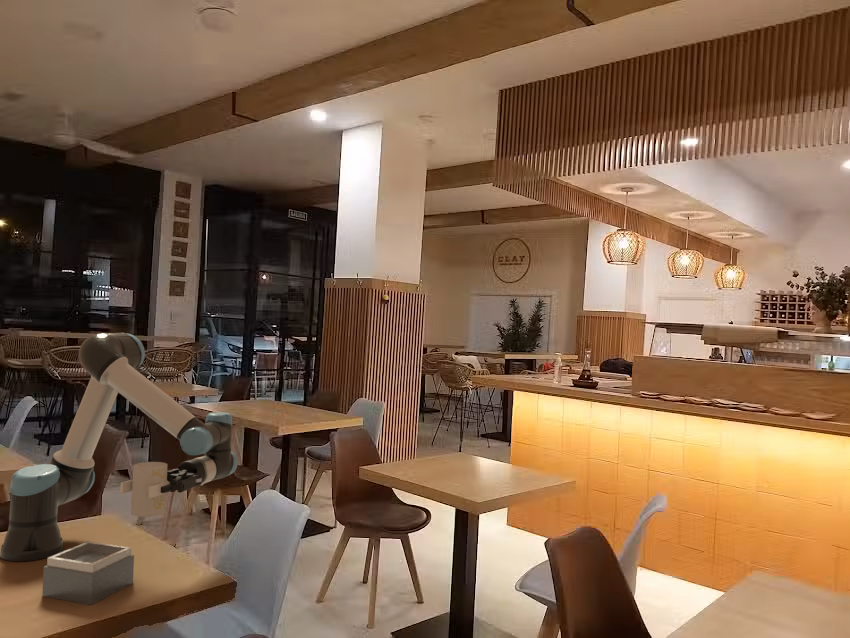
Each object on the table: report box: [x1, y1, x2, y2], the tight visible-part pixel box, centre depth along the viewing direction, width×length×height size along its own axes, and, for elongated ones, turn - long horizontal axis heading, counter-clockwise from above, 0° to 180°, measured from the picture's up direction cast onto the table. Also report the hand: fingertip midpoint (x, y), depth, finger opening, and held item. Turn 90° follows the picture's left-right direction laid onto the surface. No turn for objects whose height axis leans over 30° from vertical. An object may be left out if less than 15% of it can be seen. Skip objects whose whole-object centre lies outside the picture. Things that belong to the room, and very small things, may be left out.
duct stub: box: [42, 540, 135, 606], centre depth 161 cm, size 14×14×9 cm
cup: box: [130, 461, 169, 518], centre depth 168 cm, size 8×8×12 cm
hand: (135, 490), depth 164 cm, fingers closed on cup, 8 cm apart
